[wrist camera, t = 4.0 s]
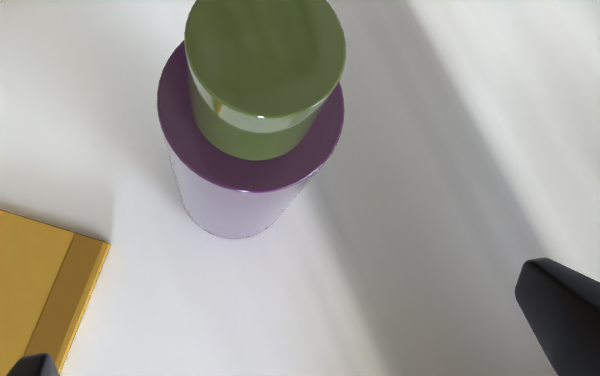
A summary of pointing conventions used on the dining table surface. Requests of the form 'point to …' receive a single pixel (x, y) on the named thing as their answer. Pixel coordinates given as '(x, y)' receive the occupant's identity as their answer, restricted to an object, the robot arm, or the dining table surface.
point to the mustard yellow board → (43, 287)
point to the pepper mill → (251, 108)
